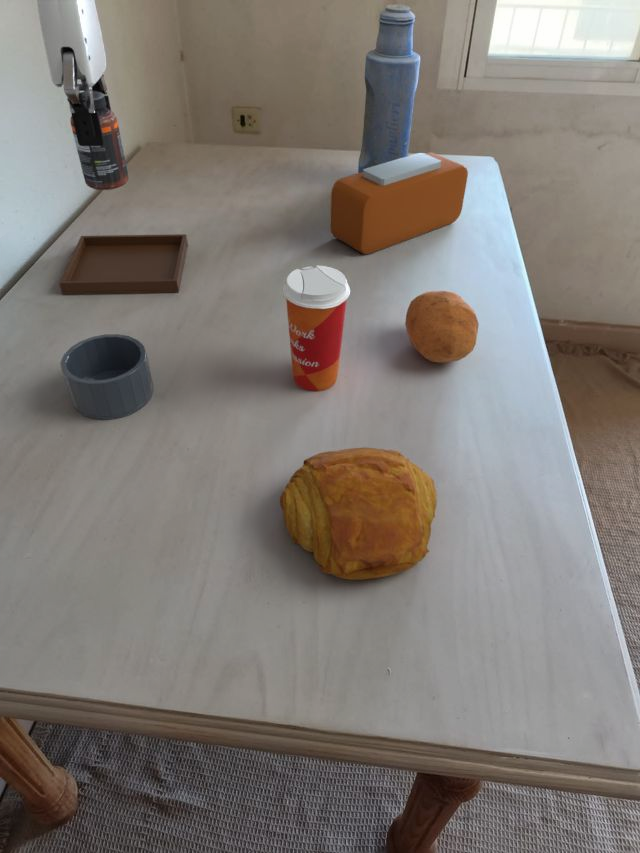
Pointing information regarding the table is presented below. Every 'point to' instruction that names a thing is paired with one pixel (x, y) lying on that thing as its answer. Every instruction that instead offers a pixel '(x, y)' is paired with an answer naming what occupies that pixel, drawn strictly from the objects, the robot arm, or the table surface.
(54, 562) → the table surface
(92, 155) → the supplement bottle
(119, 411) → the grey cup
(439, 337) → the potato
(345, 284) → the paper cup
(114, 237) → the walnut tray
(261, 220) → the table surface
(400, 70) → the bottle
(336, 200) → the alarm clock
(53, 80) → the robot arm
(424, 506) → the croissant
